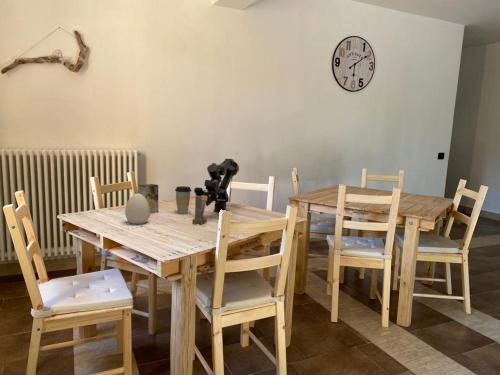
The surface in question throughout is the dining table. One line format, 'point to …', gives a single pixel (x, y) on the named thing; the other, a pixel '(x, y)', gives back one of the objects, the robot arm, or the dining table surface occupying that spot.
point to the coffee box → (150, 195)
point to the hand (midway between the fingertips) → (206, 205)
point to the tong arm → (203, 204)
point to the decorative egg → (137, 209)
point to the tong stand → (198, 212)
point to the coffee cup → (182, 199)
